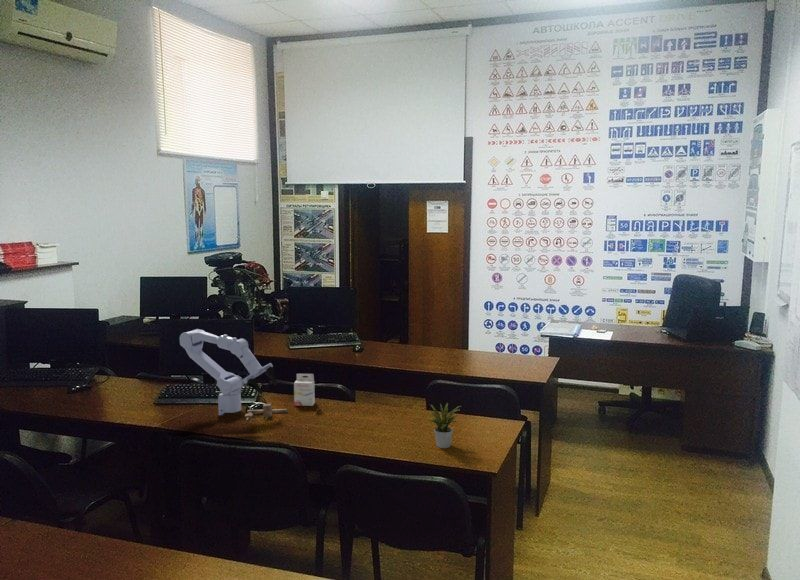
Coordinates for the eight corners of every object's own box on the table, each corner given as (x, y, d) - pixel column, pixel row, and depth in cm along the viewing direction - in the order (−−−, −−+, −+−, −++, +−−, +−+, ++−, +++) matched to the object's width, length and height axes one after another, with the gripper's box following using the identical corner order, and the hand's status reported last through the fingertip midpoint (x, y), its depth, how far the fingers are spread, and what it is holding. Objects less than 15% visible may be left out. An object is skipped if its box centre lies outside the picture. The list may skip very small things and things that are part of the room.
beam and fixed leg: (243, 420, 262) (243, 417, 261) (248, 413, 271) (247, 409, 271) (283, 419, 262) (283, 416, 262) (287, 412, 272) (287, 408, 272)
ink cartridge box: (294, 408, 280) (292, 376, 279) (297, 404, 285) (295, 373, 284) (312, 408, 280) (311, 376, 278) (315, 404, 285) (314, 373, 283)
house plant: (467, 453, 224) (467, 408, 222) (429, 454, 222) (428, 410, 221) (460, 439, 238) (460, 397, 236) (424, 440, 237) (424, 398, 235)
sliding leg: (262, 419, 262) (261, 407, 261) (266, 412, 271) (265, 401, 271) (269, 419, 262) (269, 407, 261) (273, 412, 272) (272, 400, 271)
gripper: (239, 367, 261) (257, 394, 259) (266, 351, 270) (284, 377, 269) (235, 373, 267) (253, 399, 265) (262, 358, 276) (280, 382, 274)
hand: (268, 388), depth 267 cm, fingers open, 7 cm apart
